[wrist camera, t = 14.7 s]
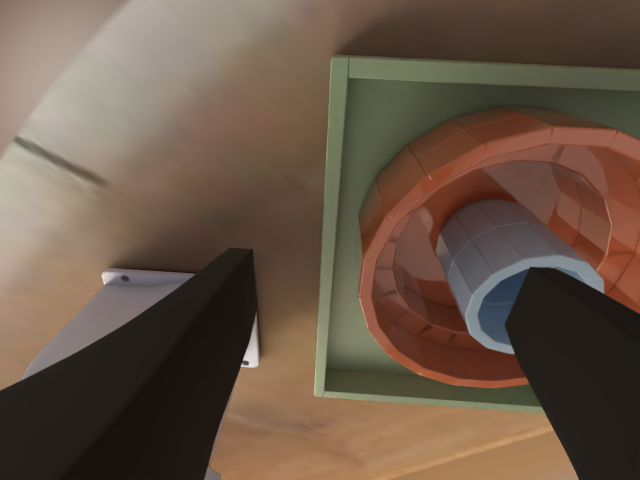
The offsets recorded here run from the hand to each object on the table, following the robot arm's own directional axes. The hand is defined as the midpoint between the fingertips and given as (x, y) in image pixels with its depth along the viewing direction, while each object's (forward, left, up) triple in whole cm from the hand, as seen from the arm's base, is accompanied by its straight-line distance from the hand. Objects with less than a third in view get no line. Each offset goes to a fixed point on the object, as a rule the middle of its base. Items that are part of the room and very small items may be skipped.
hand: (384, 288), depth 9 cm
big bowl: (+7, -3, -9) cm, 12 cm away
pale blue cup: (+7, -3, -9) cm, 11 cm away
